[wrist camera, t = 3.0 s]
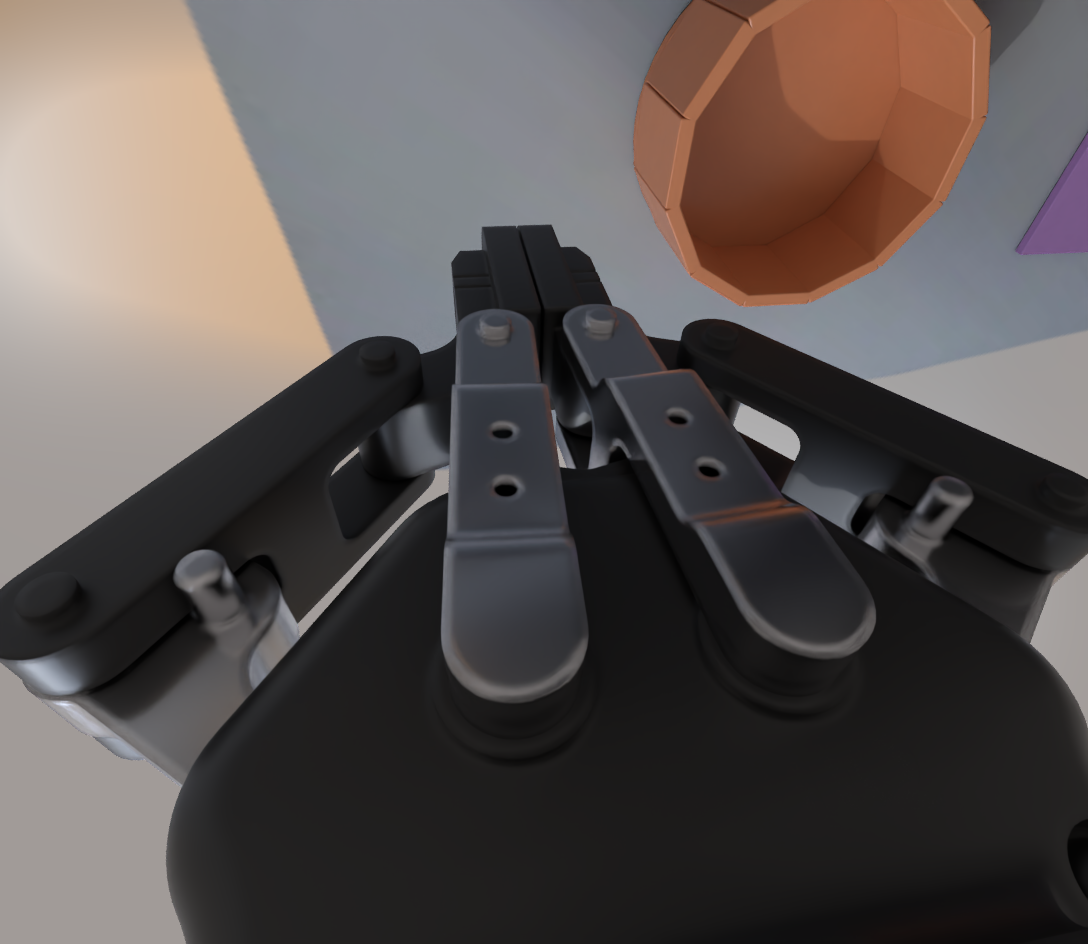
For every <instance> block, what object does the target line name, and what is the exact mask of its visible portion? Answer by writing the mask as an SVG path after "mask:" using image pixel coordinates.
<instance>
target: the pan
mask: <svg viewBox="0 0 1088 944" xmlns="http://www.w3.org/2000/svg"><path fill="white" fill-rule="evenodd" d="M989 23H990V21H989V19H988V18H987V17H986V15H985V14H984V13H983V12H982V10H981V9H980V8H979V6H978V5H977V4H976V3H975V1H974V0H693V1H692V2H691V3H690V4H689V5H688V7H687V8H686V9H685V10H684V11H683V12H682V14H681V15H680V16H679V17H678V19H677V20H676V22H675V23H674V25H673V26H672V28H671V29H670V31H669V32H668V34H667V35H666V37H665V38H664V40H663V42H662V44H661V46H660V48H659V50H658V51H657V53H656V55H655V57H654V59H653V62H652V64H651V66H650V69H649V71H648V74H647V76H646V78H645V81H644V85H643V88H642V91H641V95H640V98H639V102H638V107H637V113H636V118H635V126H634V140H633V144H634V166H635V167H634V170H635V173H636V175H637V178H638V182H639V185H640V188H641V191H642V194H643V196H644V198H645V200H646V202H647V204H648V206H649V208H650V210H651V213H652V215H653V218H654V221H655V223H656V226H657V227H658V229H659V230H660V232H661V233H662V235H663V236H664V238H665V239H666V241H667V242H668V244H669V245H670V247H671V248H672V250H673V251H674V253H675V254H676V256H677V257H678V259H679V260H680V262H681V263H682V265H683V266H684V268H685V269H686V271H687V272H688V274H689V275H690V276H691V277H692V278H694V279H695V280H697V281H699V282H700V283H702V284H704V285H705V286H707V287H709V288H710V289H712V290H714V291H715V292H717V293H719V294H721V295H722V296H724V297H726V298H727V299H729V300H731V301H732V302H734V303H736V304H737V305H739V306H743V307H751V306H770V305H790V304H807V303H808V301H809V302H813V301H815V300H817V299H819V298H821V297H823V296H825V295H827V294H829V293H831V292H833V291H835V290H837V289H839V288H841V287H843V286H845V285H847V284H849V283H851V282H853V281H855V280H857V279H859V278H861V277H863V276H865V275H867V274H869V273H871V272H873V271H875V270H877V269H878V265H879V266H882V265H883V264H884V263H885V262H886V261H887V260H888V259H889V258H890V257H891V256H892V255H893V254H894V253H895V252H896V251H897V250H898V249H899V248H900V247H901V246H902V245H903V244H904V243H905V242H906V241H907V240H908V239H909V238H910V237H911V236H912V235H913V234H914V233H915V232H916V231H917V230H918V229H919V228H920V227H921V226H922V225H923V224H924V223H925V222H926V221H927V220H928V219H929V218H930V217H931V216H932V215H933V214H934V213H935V212H936V211H937V210H938V209H939V208H940V207H941V206H942V205H943V203H942V202H941V201H945V200H946V199H947V197H948V195H949V193H950V191H951V189H952V187H953V185H954V183H955V180H956V178H957V176H958V174H959V172H960V170H961V168H962V166H963V164H964V162H965V160H966V158H967V156H968V154H969V152H970V150H971V148H972V146H973V144H974V142H975V140H976V138H977V136H978V134H979V132H980V130H981V128H982V126H983V124H984V122H985V120H986V116H984V115H986V114H987V113H988V96H989V71H990V45H991V26H990V25H988V24H989Z"/></svg>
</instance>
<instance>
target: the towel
mask: <svg viewBox="0 0 1088 944" xmlns="http://www.w3.org/2000/svg"><path fill="white" fill-rule="evenodd" d="M1016 252H1017V253H1019V254H1020V255H1027V254H1052V253H1077V252H1088V133H1087V135H1086V136H1085V138H1084V140H1083V141H1082V143H1081V144H1080V146H1079V148H1078V149H1077V151H1076V153H1075V154H1074V156H1073V158H1072V159H1071V161H1070V162H1069V164H1068V166H1067V167H1066V169H1065V171H1064V172H1063V174H1062V175H1061V177H1060V179H1059V180H1058V182H1057V184H1056V185H1055V187H1054V189H1053V190H1052V192H1051V193H1050V195H1049V197H1048V198H1047V200H1046V202H1045V203H1044V205H1043V207H1042V208H1041V210H1040V211H1039V213H1038V215H1037V216H1036V218H1035V220H1034V221H1033V223H1032V225H1031V226H1030V228H1029V229H1028V231H1027V233H1026V234H1025V236H1024V238H1023V239H1022V241H1021V242H1020V244H1019V246H1018V247H1017V249H1016Z"/></svg>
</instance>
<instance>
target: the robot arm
mask: <svg viewBox="0 0 1088 944" xmlns="http://www.w3.org/2000/svg"><path fill="white" fill-rule="evenodd" d="M451 265H452V279H453V292H454V305H455V319H456V330H457V335H456V336H455V338H454V339H453V340H452V341H451V342H449V343H448V344H447V345H445V346H443V347H441V348H439V349H437V350H434V351H431V352H427V353H423V354H420V352H419V350H418V348H417V347H416V346H415V345H414V344H412V343H411V342H409V341H407V340H405V339H401V338H397V337H391V336H377V337H370V338H365V339H362V340H359V341H356V342H354V343H352V344H350V345H348V346H347V347H345V348H344V349H342V350H341V351H339V352H338V353H337V354H335V355H334V356H332V357H331V358H329V359H328V360H327V361H325V362H324V363H322V364H321V365H319V366H318V367H316V368H315V369H314V370H312V371H311V372H309V373H308V374H306V375H305V376H303V377H302V378H301V379H299V380H298V381H296V382H295V383H293V384H292V385H291V386H289V387H288V388H286V389H285V390H283V391H282V392H281V393H279V394H278V395H276V396H275V397H273V398H272V399H270V400H269V401H268V402H266V403H265V404H263V405H262V406H260V407H259V408H257V409H256V410H255V411H253V412H252V413H250V414H249V415H247V416H246V417H245V418H243V419H242V420H240V421H239V422H237V423H236V424H234V425H233V426H232V427H230V428H229V429H227V430H226V431H224V432H223V433H222V434H220V435H219V436H217V437H216V438H214V439H213V440H211V441H210V442H209V443H207V444H206V445H204V446H203V447H202V448H200V449H198V450H197V451H196V452H194V453H193V454H191V455H190V456H189V457H187V458H186V459H184V460H183V461H181V462H180V463H179V464H177V465H176V466H174V467H173V468H171V469H170V470H168V471H167V472H166V473H164V474H163V475H161V476H160V477H158V478H157V479H156V480H154V481H152V482H151V483H150V484H148V485H147V486H145V487H144V488H142V489H141V490H140V491H138V492H137V493H135V494H134V495H132V496H131V497H129V498H128V499H127V500H125V501H124V502H122V503H121V504H119V505H118V506H116V507H115V508H114V509H112V510H111V511H110V512H108V513H106V514H105V515H104V516H102V517H101V518H99V519H98V520H97V521H95V522H93V523H92V524H91V525H89V526H88V527H86V528H85V529H83V530H82V531H81V532H79V533H78V534H76V535H75V536H73V537H72V538H71V539H69V540H68V541H66V542H65V543H63V544H62V545H60V546H59V547H58V548H56V549H55V550H53V551H52V552H50V553H49V554H47V555H46V556H45V557H43V558H42V559H40V560H39V561H37V562H36V563H35V564H33V565H32V566H30V567H29V568H27V569H26V570H24V571H23V572H22V573H20V574H19V575H17V576H16V577H15V578H13V579H12V580H11V581H9V582H8V583H7V584H6V585H5V586H3V587H2V588H1V589H0V662H1V663H2V664H3V665H5V666H6V667H7V668H8V669H9V670H11V671H12V672H13V673H14V674H15V675H17V676H18V677H19V678H20V679H22V681H23V684H24V685H25V687H26V688H27V689H28V691H30V692H31V693H32V694H34V695H35V696H36V697H37V698H38V699H40V700H41V701H42V702H44V703H45V704H46V705H47V706H48V707H50V708H51V709H52V710H53V711H55V712H56V713H57V714H58V715H60V716H61V717H62V718H64V719H65V720H66V721H67V722H69V723H70V724H71V725H72V726H74V727H75V728H76V729H77V730H79V731H80V732H82V733H84V734H86V735H89V736H92V737H93V738H95V739H96V740H97V741H98V742H100V743H101V744H102V745H103V746H105V747H106V748H107V749H108V750H110V751H111V752H112V753H114V754H115V755H116V756H118V757H120V758H123V759H128V760H143V759H145V760H146V761H147V762H149V763H150V764H151V765H152V766H154V767H155V768H157V769H158V770H159V771H160V772H162V773H163V774H164V775H165V776H167V777H168V778H169V779H171V780H172V781H173V782H174V783H176V784H177V785H179V786H180V787H181V790H180V793H179V796H178V798H177V801H176V804H175V807H174V810H173V814H172V818H171V822H170V826H169V833H168V840H167V851H166V867H167V879H168V885H169V891H170V895H171V899H172V903H173V905H174V908H175V911H176V913H177V916H178V919H179V922H180V924H181V927H182V930H183V934H184V937H185V941H186V944H1088V728H1087V724H1086V721H1085V718H1084V716H1083V713H1082V711H1081V709H1080V707H1079V704H1078V702H1077V701H1076V699H1075V697H1074V695H1073V694H1072V692H1071V690H1070V689H1069V687H1068V685H1067V684H1066V683H1065V681H1064V680H1063V679H1062V677H1061V676H1060V675H1059V673H1058V672H1057V671H1056V669H1055V668H1054V667H1053V666H1052V665H1051V664H1050V663H1049V662H1048V661H1047V660H1046V658H1045V657H1044V656H1043V655H1042V654H1041V653H1039V652H1038V651H1037V650H1036V649H1035V648H1034V647H1033V646H1032V645H1031V644H1030V642H1031V639H1032V636H1033V633H1034V631H1035V628H1036V625H1037V623H1038V620H1039V617H1040V615H1041V612H1042V610H1043V607H1044V604H1045V602H1046V599H1047V596H1048V594H1049V591H1050V588H1051V586H1052V585H1054V584H1055V583H1056V582H1057V581H1058V580H1059V579H1060V578H1061V577H1062V576H1064V575H1065V574H1066V573H1067V572H1068V571H1069V570H1070V569H1071V568H1072V567H1073V566H1074V565H1076V564H1077V563H1078V562H1079V561H1080V560H1081V559H1082V558H1083V557H1085V555H1087V554H1088V479H1086V478H1084V477H1083V476H1081V475H1079V474H1077V473H1075V472H1073V471H1070V470H1068V469H1066V468H1064V467H1062V466H1059V465H1057V464H1055V463H1052V462H1050V461H1048V460H1046V459H1043V458H1041V457H1039V456H1037V455H1034V454H1032V453H1029V452H1027V451H1025V450H1023V449H1021V448H1018V447H1016V446H1014V445H1012V444H1009V443H1007V442H1005V441H1002V440H1000V439H998V438H996V437H993V436H991V435H989V434H986V433H984V432H982V431H980V430H977V429H975V428H973V427H971V426H968V425H966V424H964V423H962V422H959V421H957V420H955V419H952V418H950V417H948V416H946V415H943V414H941V413H938V412H936V411H934V410H932V409H930V408H927V407H925V406H923V405H920V404H918V403H916V402H914V401H911V400H909V399H907V398H905V397H902V396H900V395H898V394H896V393H893V392H891V391H889V390H886V389H884V388H882V387H879V386H877V385H875V384H873V383H871V382H868V381H866V380H864V379H861V378H859V377H857V376H855V375H852V374H850V373H848V372H846V371H843V370H841V369H839V368H836V367H834V366H832V365H830V364H827V363H825V362H823V361H821V360H818V359H816V358H814V357H811V356H809V355H807V354H805V353H802V352H800V351H798V350H796V349H793V348H791V347H789V346H786V345H784V344H782V343H780V342H777V341H775V340H773V339H771V338H768V337H766V336H764V335H761V334H759V333H757V332H755V331H752V330H750V329H748V328H746V327H743V326H741V325H739V324H736V323H733V322H730V321H725V320H719V319H702V320H697V321H694V322H692V323H690V324H688V325H687V326H686V327H685V328H684V329H683V332H682V336H681V340H680V341H675V340H668V339H661V338H654V337H649V336H646V335H645V334H644V332H643V331H642V329H641V328H640V326H639V324H638V323H637V321H636V320H635V319H634V317H633V316H632V315H631V314H629V313H628V312H626V311H624V310H622V309H620V308H617V307H614V306H612V304H611V301H610V299H609V297H608V295H607V293H606V291H605V289H604V286H603V284H602V282H600V278H599V276H598V274H597V272H596V269H595V267H594V265H593V263H592V261H591V259H590V257H589V256H587V255H586V254H585V253H583V252H582V251H581V250H579V249H578V248H577V247H560V245H559V242H558V240H557V237H556V235H555V232H554V230H553V227H552V225H523V226H518V227H517V228H516V226H494V227H482V250H477V251H460V252H459V253H458V254H457V256H456V257H455V258H454V260H453V261H452V263H451ZM740 403H743V404H745V405H747V406H749V407H751V408H753V409H755V410H757V411H759V412H761V413H763V414H765V415H767V416H769V417H771V418H773V419H775V420H777V421H779V422H780V423H782V424H784V425H787V426H788V427H790V428H791V429H792V430H793V431H794V432H795V433H796V434H797V436H798V438H799V441H800V451H799V454H798V455H797V458H796V460H795V461H793V460H791V459H789V458H787V457H785V456H783V455H782V454H780V453H778V452H776V451H774V450H772V449H770V448H768V447H767V446H764V445H763V444H761V443H759V442H757V441H755V440H753V439H751V438H750V437H748V436H746V435H744V434H742V433H740V432H738V431H737V430H736V429H735V427H734V426H733V424H734V421H735V418H736V415H737V412H738V409H739V406H740ZM551 410H555V411H556V415H557V416H556V430H555V433H554V426H553V419H552V413H551ZM555 436H556V439H555ZM556 440H557V443H558V445H559V448H560V451H561V453H562V456H563V459H564V461H565V463H566V466H567V468H562V467H560V466H559V460H558V453H557V446H556ZM357 447H358V448H359V452H358V453H357V454H356V455H355V456H354V457H353V458H351V459H350V460H349V461H348V462H347V463H346V464H345V465H344V466H342V467H341V468H340V469H339V470H338V471H337V472H335V473H334V474H333V475H332V476H331V474H332V472H333V470H334V469H335V467H336V466H337V465H338V463H339V462H340V461H342V460H343V459H344V458H345V457H346V456H347V455H348V454H350V453H351V452H352V451H353V450H354V449H356V448H357ZM447 465H449V493H446V494H444V495H441V496H439V497H438V498H436V499H434V500H432V501H430V502H428V503H427V504H425V505H424V506H422V507H421V508H419V509H418V510H416V511H415V512H414V513H413V514H412V515H411V516H409V517H408V518H407V519H406V520H405V521H404V522H403V523H402V524H401V525H400V526H399V527H398V528H397V530H395V532H394V533H393V534H392V535H391V536H390V537H389V538H388V539H387V541H386V542H385V543H384V544H383V545H382V546H381V547H380V548H379V550H378V551H377V552H376V553H375V554H374V555H373V556H372V557H371V559H370V560H369V561H368V562H367V563H366V564H365V565H364V567H363V568H362V569H361V570H360V571H359V572H358V573H357V574H356V575H355V577H354V578H353V579H352V580H351V581H350V582H349V583H348V584H347V586H346V587H345V588H344V589H343V590H342V591H341V592H340V594H339V595H338V596H337V597H336V598H335V599H334V600H333V601H332V603H331V604H330V605H329V606H328V607H327V608H326V609H325V610H324V612H323V613H322V614H321V615H320V616H319V617H318V618H317V620H316V621H315V622H314V623H313V624H312V625H311V626H310V627H309V628H308V630H307V631H306V632H305V633H304V634H303V635H302V636H301V637H300V639H299V628H298V625H297V624H298V623H299V622H300V621H301V620H302V618H303V617H304V616H305V615H306V614H307V613H308V612H309V611H310V610H311V609H312V608H313V607H314V606H315V605H316V604H317V603H318V602H319V601H320V600H321V599H322V598H323V597H324V596H325V594H327V593H328V591H329V590H330V589H331V588H332V587H333V586H334V585H335V584H336V583H337V582H338V581H339V580H340V579H341V578H342V577H343V576H344V575H345V574H346V573H347V572H348V571H349V570H350V569H351V568H352V567H353V565H354V564H355V563H356V562H357V561H358V560H359V559H360V558H361V557H362V556H363V555H364V554H365V553H366V552H367V551H368V550H369V549H370V548H371V547H372V546H373V545H374V544H375V543H376V542H377V541H378V540H379V538H380V537H381V536H382V535H383V534H384V533H385V532H386V531H387V530H388V529H389V528H390V527H391V526H392V525H393V524H394V523H395V522H396V521H397V520H398V519H399V518H400V517H401V515H403V514H404V512H405V511H406V510H407V509H408V508H409V507H410V506H411V505H412V504H413V503H414V502H415V501H416V500H417V499H418V498H419V497H420V496H421V495H422V494H423V493H424V492H425V491H426V490H427V489H428V488H429V486H430V485H431V483H432V482H433V480H434V477H435V470H436V469H439V468H441V467H444V466H447Z"/></svg>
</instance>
